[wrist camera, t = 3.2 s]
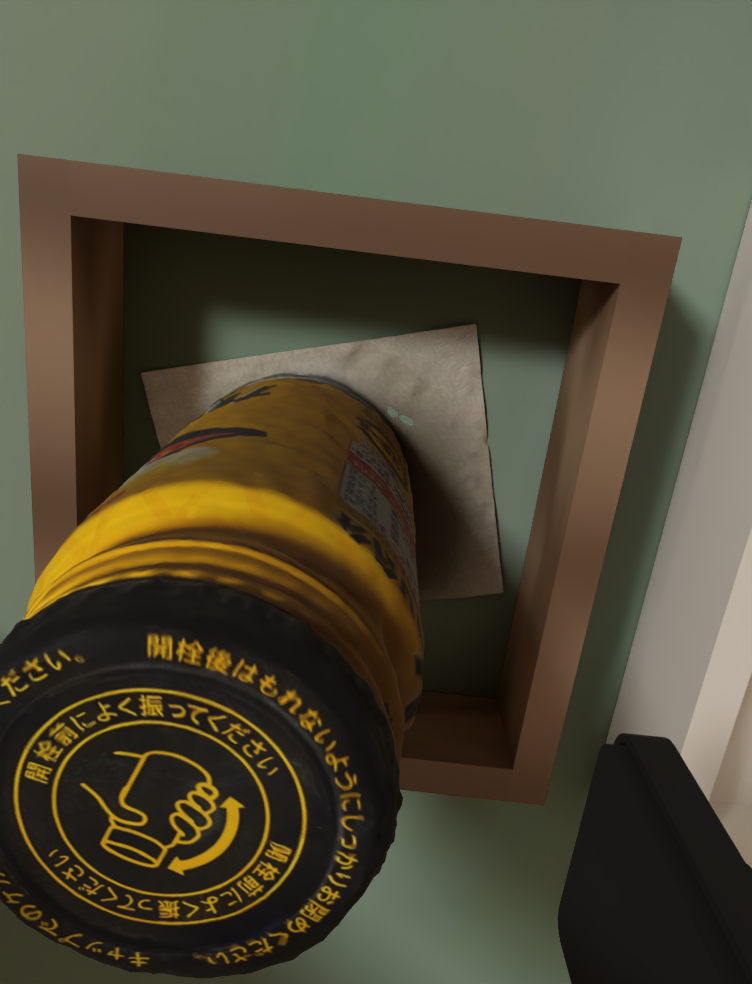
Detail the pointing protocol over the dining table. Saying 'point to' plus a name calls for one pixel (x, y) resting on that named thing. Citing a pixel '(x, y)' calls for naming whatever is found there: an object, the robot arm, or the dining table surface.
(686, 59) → the dining table surface
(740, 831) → the tray
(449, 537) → the condiment
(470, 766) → the brown wooden square frame
